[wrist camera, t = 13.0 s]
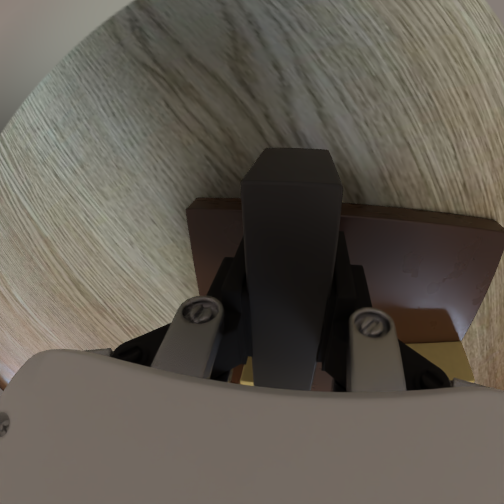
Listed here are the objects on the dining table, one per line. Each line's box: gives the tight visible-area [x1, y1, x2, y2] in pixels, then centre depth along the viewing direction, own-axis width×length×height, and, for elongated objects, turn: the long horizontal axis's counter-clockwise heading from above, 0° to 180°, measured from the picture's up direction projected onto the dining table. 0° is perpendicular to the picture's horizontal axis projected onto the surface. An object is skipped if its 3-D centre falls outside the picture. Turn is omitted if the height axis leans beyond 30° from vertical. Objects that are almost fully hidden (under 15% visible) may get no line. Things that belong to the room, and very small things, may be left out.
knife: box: [240, 148, 343, 391], centre depth 13 cm, size 20×2×4 cm, turn 3°
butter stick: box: [406, 341, 475, 383], centre depth 14 cm, size 5×7×3 cm
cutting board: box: [186, 198, 504, 392], centre depth 17 cm, size 20×16×2 cm
